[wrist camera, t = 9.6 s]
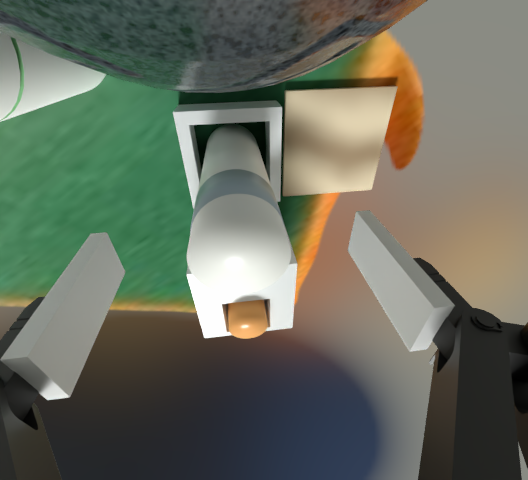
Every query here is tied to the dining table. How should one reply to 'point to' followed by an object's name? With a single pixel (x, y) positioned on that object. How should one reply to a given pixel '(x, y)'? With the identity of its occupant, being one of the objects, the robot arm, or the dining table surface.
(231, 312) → the brown egg
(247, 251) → the cylinder
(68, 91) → the cylindrical container
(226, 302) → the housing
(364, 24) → the vase
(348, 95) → the coaster
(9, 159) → the dining table surface
